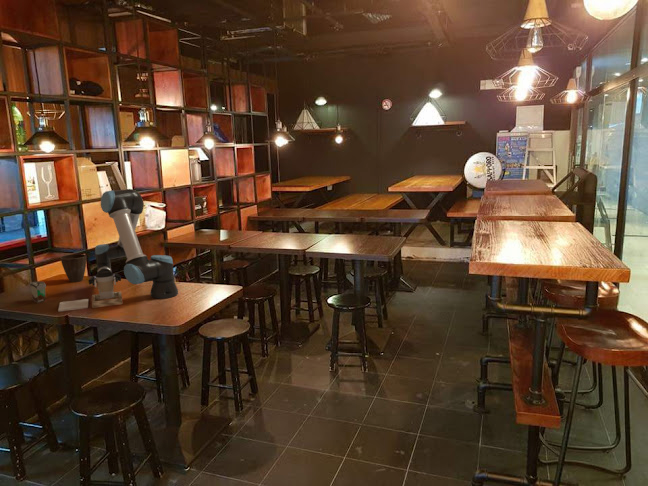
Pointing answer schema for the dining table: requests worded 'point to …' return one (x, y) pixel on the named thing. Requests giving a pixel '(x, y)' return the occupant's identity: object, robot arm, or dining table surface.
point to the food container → (38, 291)
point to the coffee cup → (105, 284)
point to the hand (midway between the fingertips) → (105, 283)
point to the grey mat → (73, 305)
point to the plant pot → (74, 266)
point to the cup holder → (106, 302)
